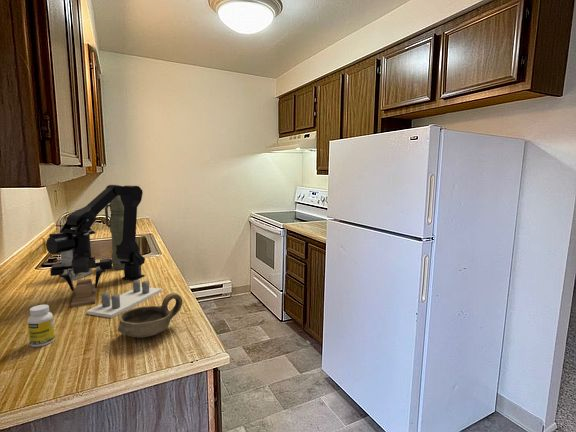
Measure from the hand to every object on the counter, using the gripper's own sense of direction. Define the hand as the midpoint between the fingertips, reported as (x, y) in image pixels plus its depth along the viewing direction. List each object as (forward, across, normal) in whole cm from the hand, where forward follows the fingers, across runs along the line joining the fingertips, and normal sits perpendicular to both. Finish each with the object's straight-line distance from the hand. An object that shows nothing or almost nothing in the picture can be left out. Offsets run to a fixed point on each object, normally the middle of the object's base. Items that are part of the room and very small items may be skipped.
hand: (84, 289), depth 119 cm
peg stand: (+2, +13, -13) cm, 19 cm away
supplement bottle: (+2, -8, -33) cm, 34 cm away
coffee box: (+3, -4, +27) cm, 27 cm away
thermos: (+2, +13, +33) cm, 36 cm away
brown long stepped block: (+3, 0, 0) cm, 3 cm away
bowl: (+3, +19, -41) cm, 45 cm away
